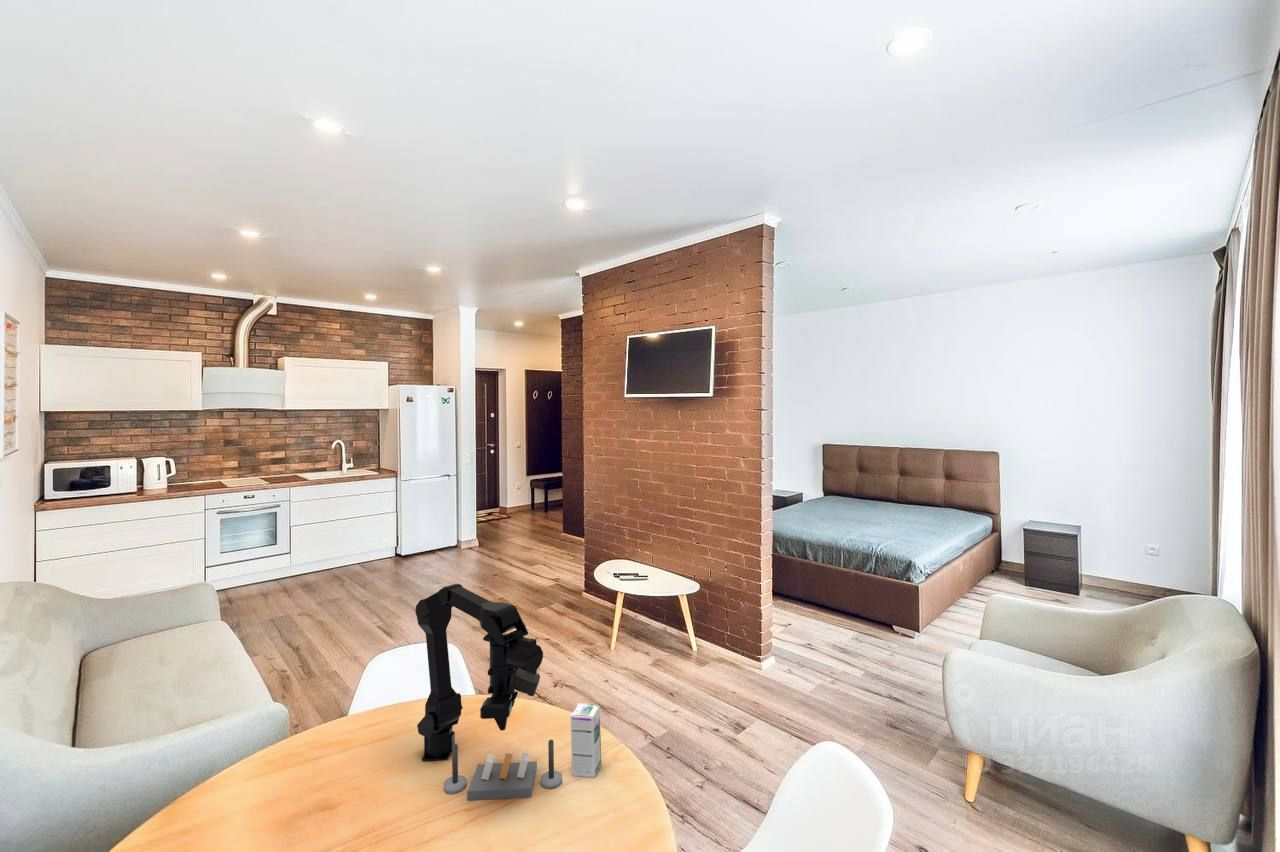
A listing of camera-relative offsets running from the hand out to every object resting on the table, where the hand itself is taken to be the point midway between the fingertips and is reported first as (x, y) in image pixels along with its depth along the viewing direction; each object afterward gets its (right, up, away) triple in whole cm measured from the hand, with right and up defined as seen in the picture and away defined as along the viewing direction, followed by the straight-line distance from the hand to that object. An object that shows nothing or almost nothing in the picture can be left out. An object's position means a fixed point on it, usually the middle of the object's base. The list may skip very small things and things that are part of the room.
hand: (502, 729), depth 126 cm
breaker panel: (0, -13, 0) cm, 13 cm away
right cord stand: (+11, -13, 0) cm, 17 cm away
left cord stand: (-11, -13, -1) cm, 17 cm away
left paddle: (-4, -11, 0) cm, 11 cm away
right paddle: (+4, -11, 0) cm, 11 cm away
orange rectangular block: (0, -11, 0) cm, 11 cm away
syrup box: (+19, -13, +5) cm, 23 cm away
